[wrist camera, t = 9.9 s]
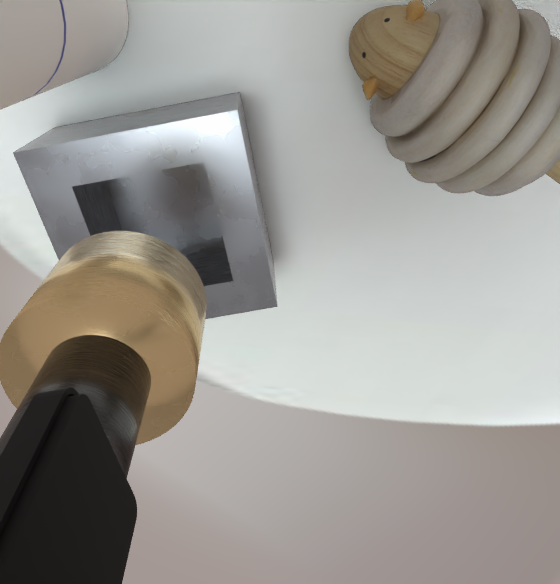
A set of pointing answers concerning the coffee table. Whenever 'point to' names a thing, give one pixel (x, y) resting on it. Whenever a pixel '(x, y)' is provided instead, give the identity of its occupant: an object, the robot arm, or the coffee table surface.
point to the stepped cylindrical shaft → (111, 337)
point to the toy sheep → (463, 91)
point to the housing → (162, 192)
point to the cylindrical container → (56, 43)
